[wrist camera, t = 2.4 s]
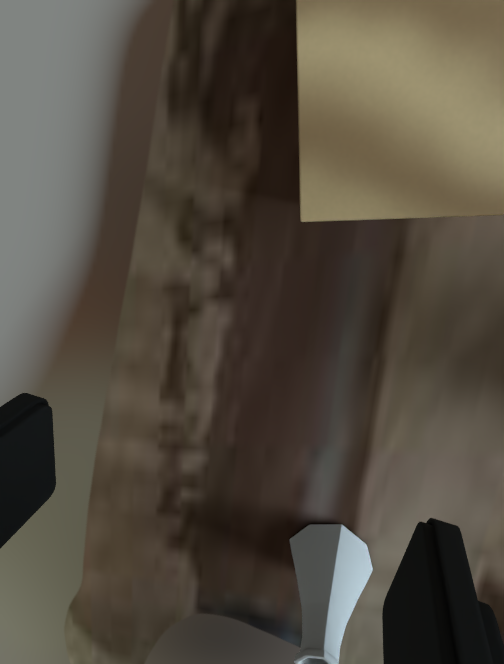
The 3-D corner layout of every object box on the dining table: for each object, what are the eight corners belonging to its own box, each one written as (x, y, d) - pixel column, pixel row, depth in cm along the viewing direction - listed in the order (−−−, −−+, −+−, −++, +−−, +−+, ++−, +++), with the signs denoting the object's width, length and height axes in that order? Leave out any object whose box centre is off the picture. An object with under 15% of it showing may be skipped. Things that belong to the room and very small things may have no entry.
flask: (387, 572, 37) (392, 702, 28) (316, 587, 40) (300, 710, 31) (345, 511, 36) (337, 626, 27) (276, 532, 39) (247, 642, 30)
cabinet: (319, -102, 22) (290, -249, 14) (657, -183, 18) (872, -446, 10) (320, 206, 27) (300, 222, 20) (580, 195, 23) (682, 209, 16)
